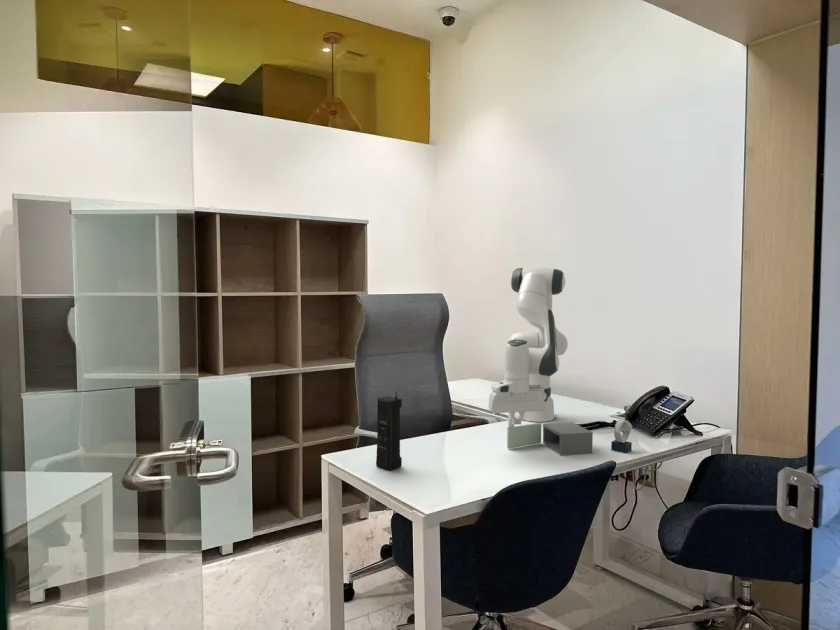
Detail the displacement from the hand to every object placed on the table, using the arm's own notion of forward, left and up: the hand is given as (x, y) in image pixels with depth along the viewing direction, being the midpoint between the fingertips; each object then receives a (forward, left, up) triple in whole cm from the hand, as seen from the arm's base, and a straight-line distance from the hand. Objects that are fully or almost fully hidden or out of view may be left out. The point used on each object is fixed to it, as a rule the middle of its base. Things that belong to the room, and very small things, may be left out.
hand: (516, 424), depth 194 cm
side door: (-5, +5, -10) cm, 12 cm away
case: (0, +20, -10) cm, 22 cm away
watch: (+7, +38, -10) cm, 39 cm away
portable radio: (+7, -47, -10) cm, 49 cm away
